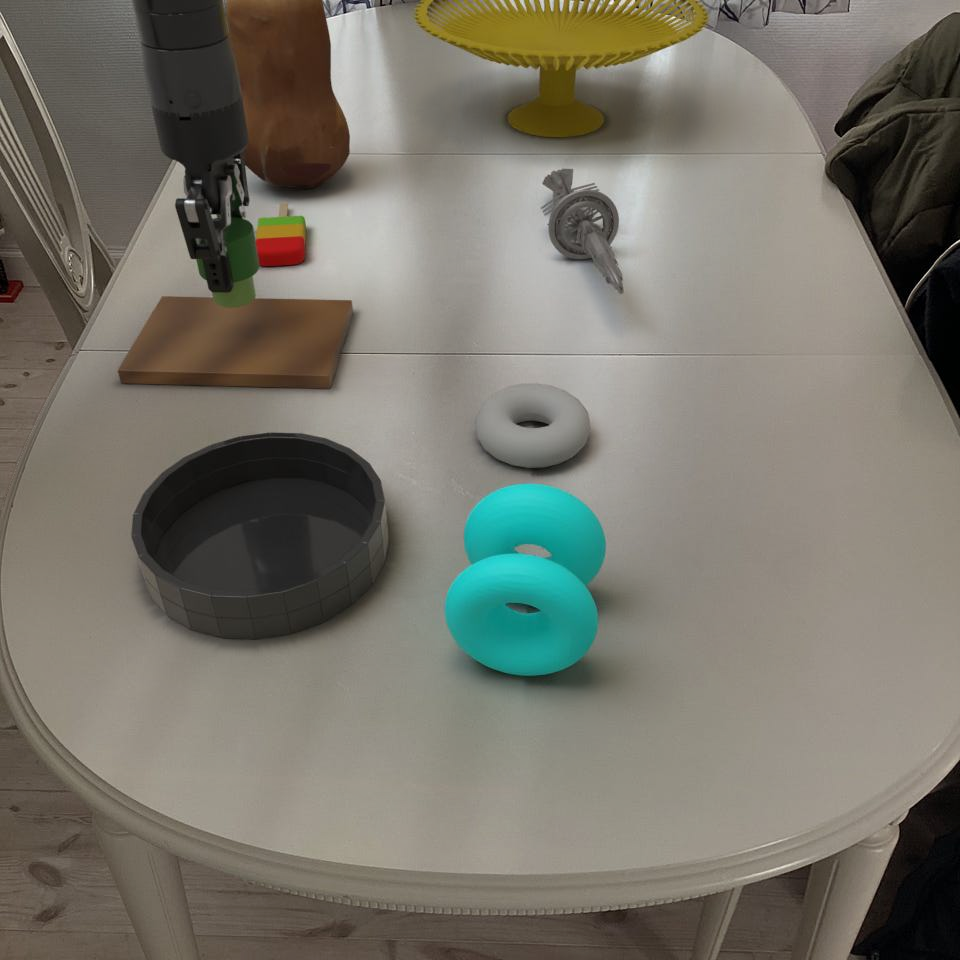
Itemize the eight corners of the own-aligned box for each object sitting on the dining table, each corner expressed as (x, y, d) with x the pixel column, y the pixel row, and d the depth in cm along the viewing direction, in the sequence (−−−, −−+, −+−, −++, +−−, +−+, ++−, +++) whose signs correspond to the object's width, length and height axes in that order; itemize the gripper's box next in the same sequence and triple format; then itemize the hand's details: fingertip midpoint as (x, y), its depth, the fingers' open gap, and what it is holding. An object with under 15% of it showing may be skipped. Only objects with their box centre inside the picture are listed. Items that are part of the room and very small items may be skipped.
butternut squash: (323, 155, 138) (300, -47, 122) (371, 188, 130) (354, -25, 114) (228, 179, 132) (191, -30, 116) (272, 216, 124) (239, -5, 108)
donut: (564, 489, 84) (605, 421, 90) (566, 457, 81) (608, 390, 88) (455, 458, 87) (503, 395, 94) (454, 427, 85) (502, 364, 92)
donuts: (602, 586, 75) (612, 482, 68) (591, 693, 67) (601, 587, 61) (468, 571, 76) (466, 468, 70) (443, 674, 69) (438, 569, 62)
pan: (110, 636, 72) (94, 592, 69) (184, 472, 86) (173, 429, 83) (370, 646, 71) (364, 601, 68) (401, 478, 85) (398, 435, 82)
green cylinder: (198, 311, 95) (183, 243, 91) (213, 282, 100) (200, 216, 95) (257, 312, 95) (245, 244, 91) (269, 283, 99) (259, 216, 95)
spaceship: (569, 270, 96) (647, 234, 95) (514, 162, 125) (573, 134, 124) (597, 338, 100) (672, 305, 99) (537, 219, 129) (595, 192, 128)
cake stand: (544, 202, 126) (548, 79, 116) (362, 113, 150) (354, 4, 141) (755, 125, 145) (773, 13, 136) (564, 57, 170) (568, -42, 160)
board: (120, 383, 96) (117, 370, 95) (164, 308, 107) (161, 295, 106) (330, 388, 95) (328, 375, 94) (353, 312, 106) (352, 299, 105)
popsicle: (255, 268, 113) (252, 253, 112) (262, 210, 125) (260, 196, 124) (305, 265, 114) (303, 250, 113) (307, 208, 125) (305, 193, 124)
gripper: (176, 65, 91) (210, 239, 102) (123, 125, 80) (168, 312, 91) (259, 65, 90) (285, 240, 101) (217, 125, 79) (251, 314, 90)
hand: (229, 273), depth 96 cm, fingers closed on green cylinder, 5 cm apart
